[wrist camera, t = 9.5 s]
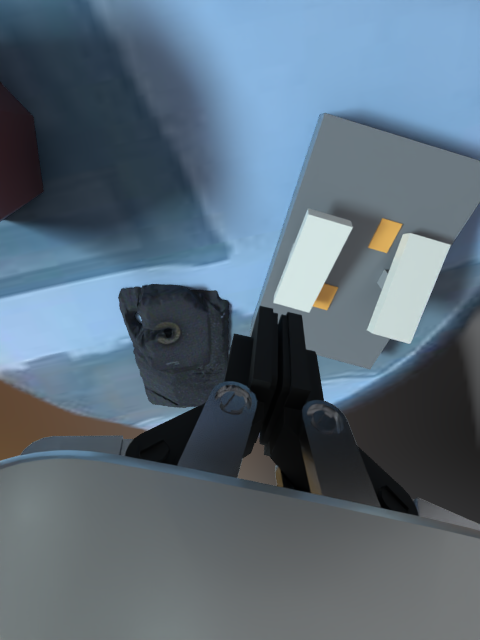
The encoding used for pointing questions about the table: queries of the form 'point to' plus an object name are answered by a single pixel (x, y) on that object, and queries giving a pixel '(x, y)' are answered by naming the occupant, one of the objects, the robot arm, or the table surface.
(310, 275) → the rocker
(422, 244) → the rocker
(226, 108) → the table surface
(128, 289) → the dark slate chunk
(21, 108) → the bucket
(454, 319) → the table surface
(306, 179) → the switch box
